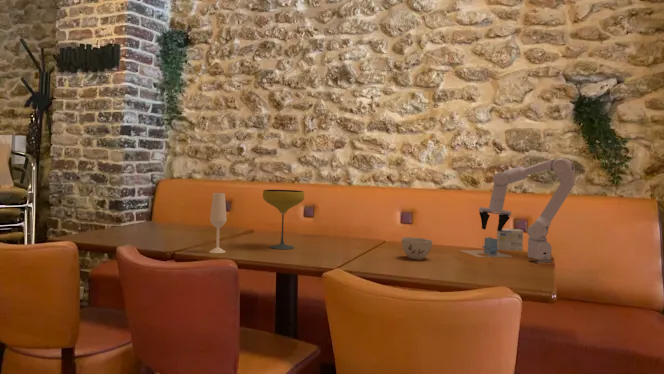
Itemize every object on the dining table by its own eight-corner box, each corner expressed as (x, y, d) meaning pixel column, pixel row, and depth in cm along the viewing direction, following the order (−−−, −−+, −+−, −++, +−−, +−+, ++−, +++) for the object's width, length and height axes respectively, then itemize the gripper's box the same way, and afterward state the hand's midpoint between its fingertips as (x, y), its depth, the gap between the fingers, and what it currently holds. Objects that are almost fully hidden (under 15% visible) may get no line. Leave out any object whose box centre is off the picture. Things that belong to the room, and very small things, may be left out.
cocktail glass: (256, 245, 241) (257, 189, 240) (293, 243, 248) (295, 189, 247) (268, 251, 224) (270, 191, 223) (308, 250, 232) (310, 192, 231)
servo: (499, 253, 230) (499, 238, 230) (492, 253, 229) (493, 238, 229) (488, 250, 239) (489, 235, 239) (481, 250, 238) (482, 235, 238)
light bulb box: (519, 252, 248) (520, 228, 247) (522, 254, 241) (524, 230, 241) (495, 250, 249) (496, 227, 249) (498, 253, 242) (499, 229, 242)
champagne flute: (227, 250, 222) (229, 193, 221) (223, 253, 216) (224, 193, 215) (212, 250, 223) (213, 192, 222) (206, 252, 216) (208, 193, 215)
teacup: (427, 262, 212) (427, 242, 211) (396, 259, 217) (397, 239, 217) (436, 257, 225) (437, 238, 225) (407, 254, 231) (408, 235, 230)
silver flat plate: (513, 260, 224) (513, 256, 224) (477, 260, 220) (478, 256, 220) (491, 253, 240) (492, 250, 240) (459, 253, 237) (459, 250, 237)
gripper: (507, 200, 239) (501, 229, 241) (478, 195, 236) (472, 225, 237) (516, 202, 232) (509, 233, 234) (486, 198, 229) (479, 229, 231)
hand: (491, 229), depth 235 cm, fingers open, 7 cm apart
